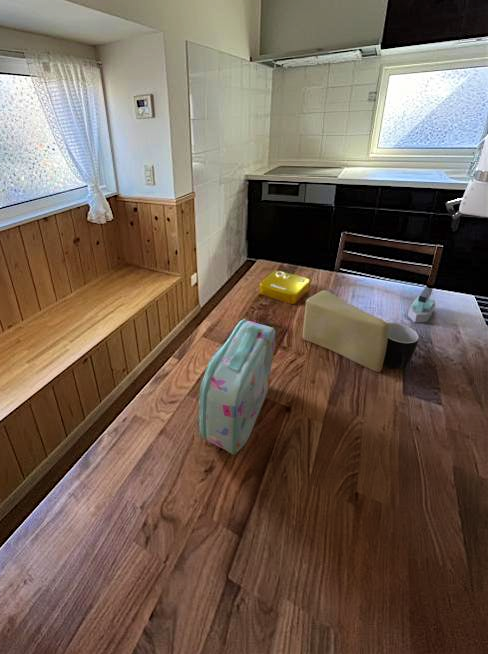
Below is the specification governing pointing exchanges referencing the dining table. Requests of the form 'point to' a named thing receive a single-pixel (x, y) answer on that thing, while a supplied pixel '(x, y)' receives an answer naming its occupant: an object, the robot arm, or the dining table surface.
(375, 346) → the cheese
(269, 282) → the element tile
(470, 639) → the dining table surface
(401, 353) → the mug
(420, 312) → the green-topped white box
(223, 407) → the lunch box
